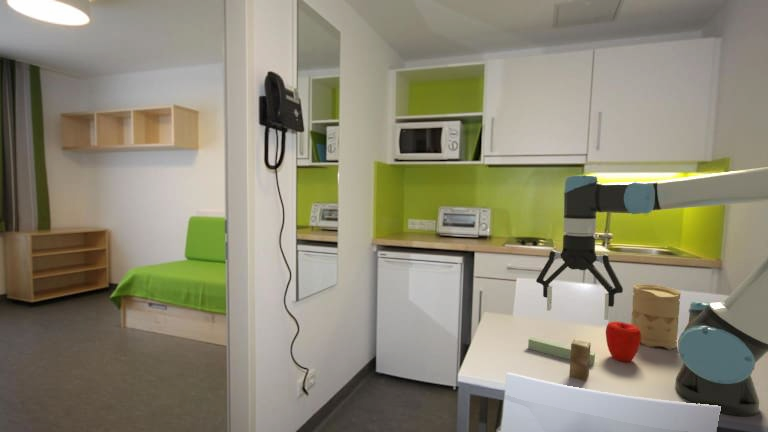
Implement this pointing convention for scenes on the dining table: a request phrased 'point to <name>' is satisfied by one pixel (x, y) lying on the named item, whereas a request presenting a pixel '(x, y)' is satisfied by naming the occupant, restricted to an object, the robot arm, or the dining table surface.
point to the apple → (623, 340)
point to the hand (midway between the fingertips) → (576, 313)
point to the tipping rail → (554, 349)
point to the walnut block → (580, 360)
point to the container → (656, 314)
